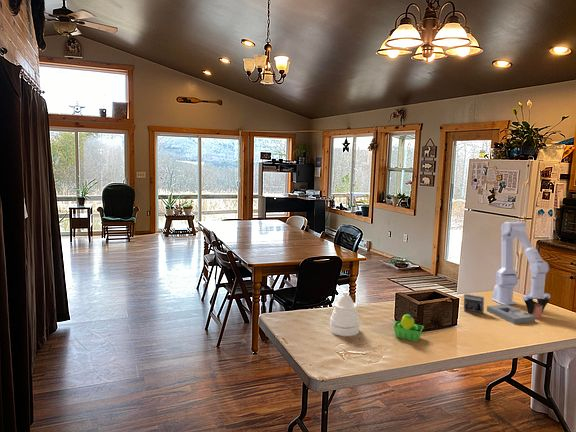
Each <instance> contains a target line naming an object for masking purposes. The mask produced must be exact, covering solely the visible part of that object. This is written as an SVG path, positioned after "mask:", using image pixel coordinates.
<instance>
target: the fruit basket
mask: <svg viewBox="0 0 576 432" xmlns="http://www.w3.org/2000/svg"><path fill="white" fill-rule="evenodd" d="M392 327H393V329H394V333H395V337H396V338H400V339H404V340H408V341H412V340H413V341H412V342H416V341H417V342H418V341H419V339H420V338H421V334H422V331H423V329H424V325H420V324H417V323H415V319H414V318H413V317H412V316H411V314H408V313H406V314H403V316H402V318H401V320H397V321H396V322H395V323H394V324H393V326H392Z"/></svg>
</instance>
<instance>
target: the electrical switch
mask: <svg viewBox="0 0 576 432" xmlns="http://www.w3.org/2000/svg"><path fill="white" fill-rule="evenodd" d="M484 307H485V297H484V296H483V295H479V294H473V293H472V294H471V293H467V292H466V293H463V310H464V312H467V313H473V314H476V315H482V313H484V309H485V308H484Z"/></svg>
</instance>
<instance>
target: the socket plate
mask: <svg viewBox="0 0 576 432" xmlns="http://www.w3.org/2000/svg"><path fill="white" fill-rule="evenodd" d="M515 308H516V307H514V306H511V305H507V304H505V305H503V304H496V305H487V306H486V312H488V313H490V314H492V315H494V316H497V317H499V318H500V319H502V320H505V321H507V322H509V323H511V324H513V325H517V324H519V325H520V324H528V323H535V322H536V318H535V316H532V315H530V317H526V318H518V317H515V316H513V315H511V314H509V311H510V309H515Z"/></svg>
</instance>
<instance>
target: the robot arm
mask: <svg viewBox="0 0 576 432" xmlns="http://www.w3.org/2000/svg"><path fill="white" fill-rule="evenodd" d="M527 230H528V229H527V227H526V224H525V222H523V221H504V223H502V224H501V234H500V235H501V242H500V243H501V246H500V247H501V254H500V256H501V259H500V260H501V262H500V263H501V268H499V269H498V270H497V271H496V276H495V280H494V281H495V283H496V284H494V287H493V293H492V298H491V301H494V302H497V303H498V304H500V305H505V304H507V305H509V306H511V305H516V304H517V302H515V301H513V300H514V299H513V298H514V288H515V287H516V285H517V284H518V282H519V278H518V275H517V273H518V272H517V271H516V270H514V268H513V266H514V265H513V264H514V263H513V262H514V261H513V260H514V259H513V257H514V255H513V254H514V253H513V252H514V249H513V248H514V247H513V246H514V244H513V242H514V239H515V238H517V240H518V241H519V242H520V244H521V245H522V247H523V248H524V255H525V257H526V259H527V261H528V263H529V265H530V266H529V271H530V276H531V281H530V282H531V283H530V289H529V291H530V292H529V293H528V294H524V295H523V296H522V300H523V301H524V303H525V305H526V310H527V313H529V314H533V309H534V305H535V303H536V301H534V300H537V303H538V304H540V305H543V307H542V314H543V312H544V310H545V307H546V306H547V304H548V303H549V302H550V300H549V299H551V294H550V293H548V292H547V293H546V292H545V286H546V285H545V283H546V277H547V275H546V274H547V273H549V271H550V265H549V263H548V262H547V261H545V260H544V259H543V258H542V257H541V255H540V253H539V250H538V249H537V248H535V247H533V245H532V243H531V240H530V238H529V235H528V234H527Z"/></svg>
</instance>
